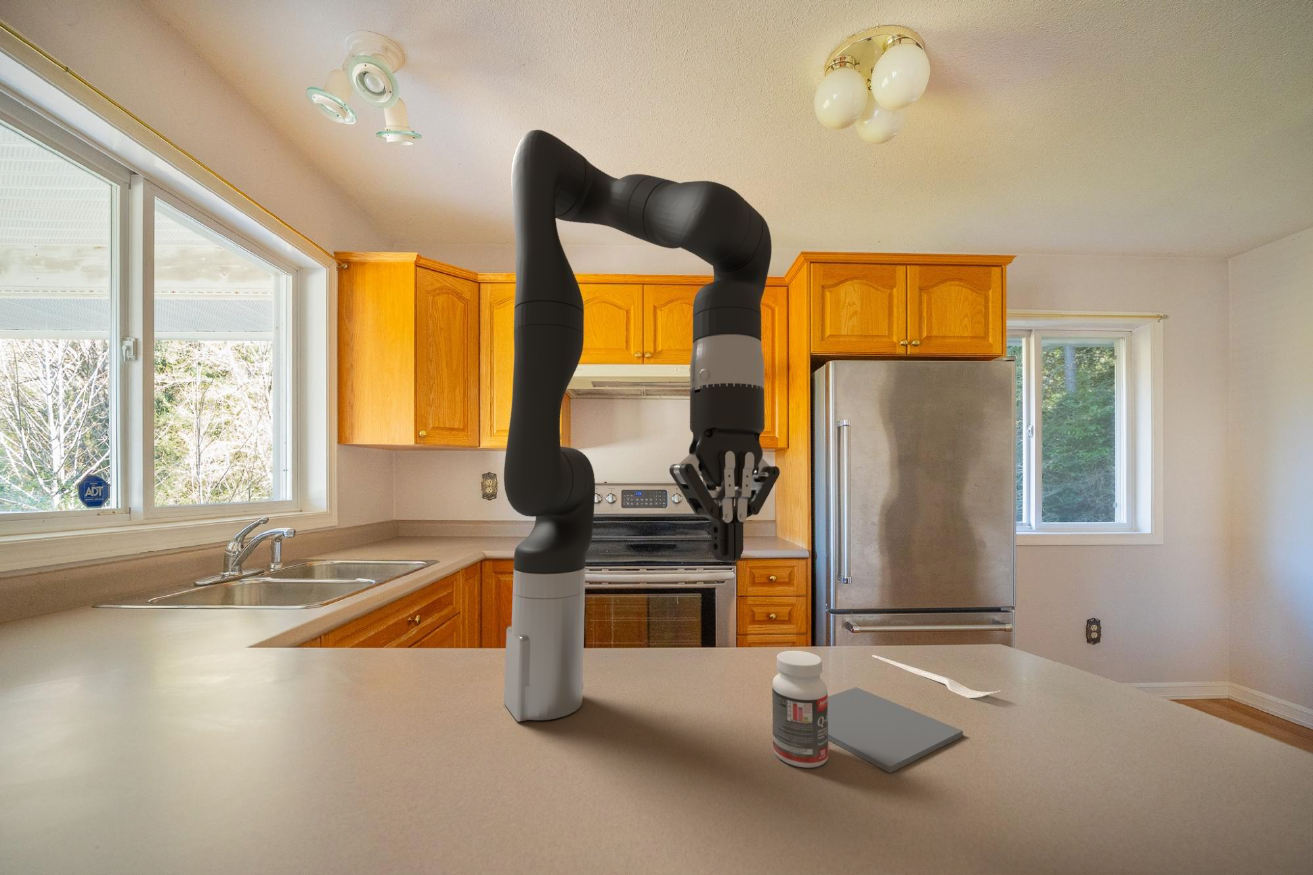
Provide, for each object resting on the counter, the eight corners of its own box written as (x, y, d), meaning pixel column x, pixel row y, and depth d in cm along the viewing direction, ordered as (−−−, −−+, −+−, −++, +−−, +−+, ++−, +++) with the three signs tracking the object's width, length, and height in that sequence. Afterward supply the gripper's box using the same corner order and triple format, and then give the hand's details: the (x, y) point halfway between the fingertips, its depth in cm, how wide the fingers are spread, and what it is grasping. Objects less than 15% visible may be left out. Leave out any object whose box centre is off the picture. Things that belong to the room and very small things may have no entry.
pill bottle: (832, 773, 49) (830, 669, 50) (773, 766, 50) (772, 665, 51) (824, 743, 55) (823, 650, 56) (772, 737, 56) (771, 647, 57)
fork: (879, 658, 84) (878, 647, 84) (1004, 704, 66) (1003, 689, 66) (865, 661, 82) (864, 649, 83) (989, 708, 65) (988, 693, 65)
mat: (889, 773, 49) (889, 766, 49) (784, 716, 61) (784, 711, 61) (963, 736, 57) (962, 730, 57) (856, 691, 69) (856, 687, 69)
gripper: (750, 398, 57) (751, 551, 56) (652, 386, 50) (650, 560, 49) (800, 388, 51) (803, 560, 50) (696, 372, 44) (696, 572, 42)
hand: (727, 559), depth 49 cm, fingers closed
